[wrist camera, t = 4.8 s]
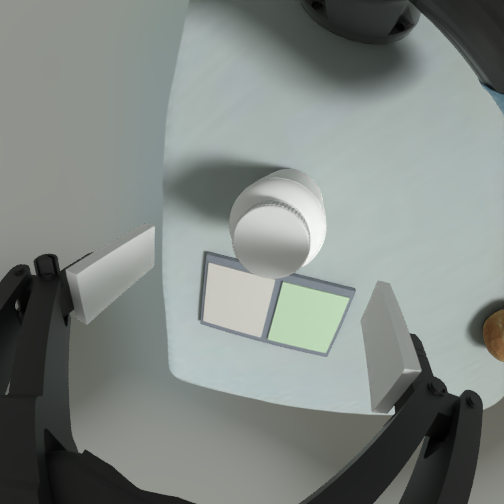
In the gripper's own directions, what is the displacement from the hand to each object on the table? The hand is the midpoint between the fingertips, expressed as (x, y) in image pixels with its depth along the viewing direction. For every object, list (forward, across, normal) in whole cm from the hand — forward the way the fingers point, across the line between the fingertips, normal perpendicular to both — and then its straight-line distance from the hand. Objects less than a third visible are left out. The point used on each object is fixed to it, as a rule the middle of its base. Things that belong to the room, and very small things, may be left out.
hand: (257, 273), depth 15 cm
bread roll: (+19, +43, -9) cm, 48 cm away
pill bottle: (+19, 0, 0) cm, 19 cm away
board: (+18, +1, -15) cm, 24 cm away
